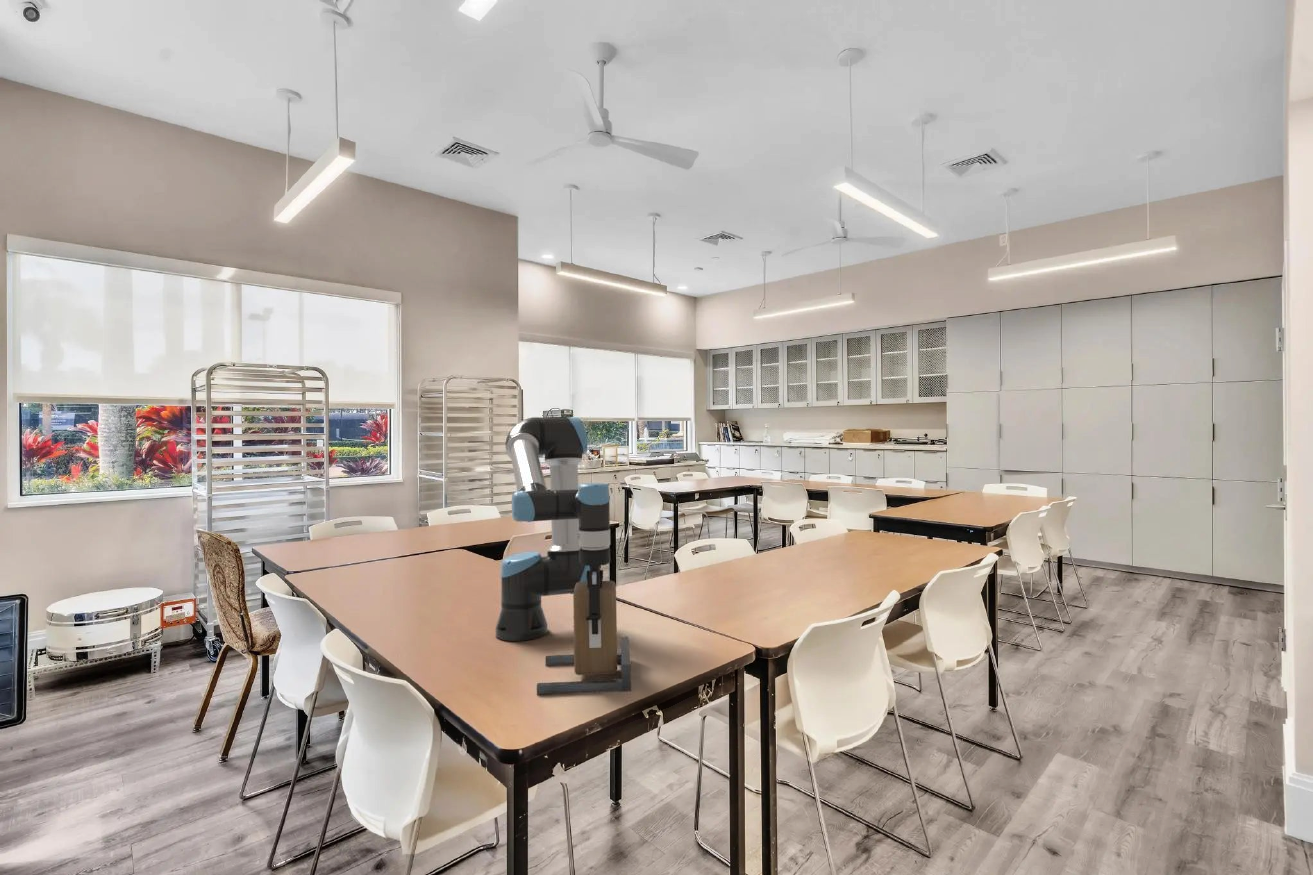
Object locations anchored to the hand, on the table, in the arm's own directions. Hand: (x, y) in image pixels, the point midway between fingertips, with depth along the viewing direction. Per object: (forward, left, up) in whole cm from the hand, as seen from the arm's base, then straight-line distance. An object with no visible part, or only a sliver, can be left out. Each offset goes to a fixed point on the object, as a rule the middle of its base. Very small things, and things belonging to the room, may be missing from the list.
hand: (595, 639), depth 146 cm
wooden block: (0, 0, -7) cm, 7 cm away
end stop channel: (-3, 0, -9) cm, 9 cm away
